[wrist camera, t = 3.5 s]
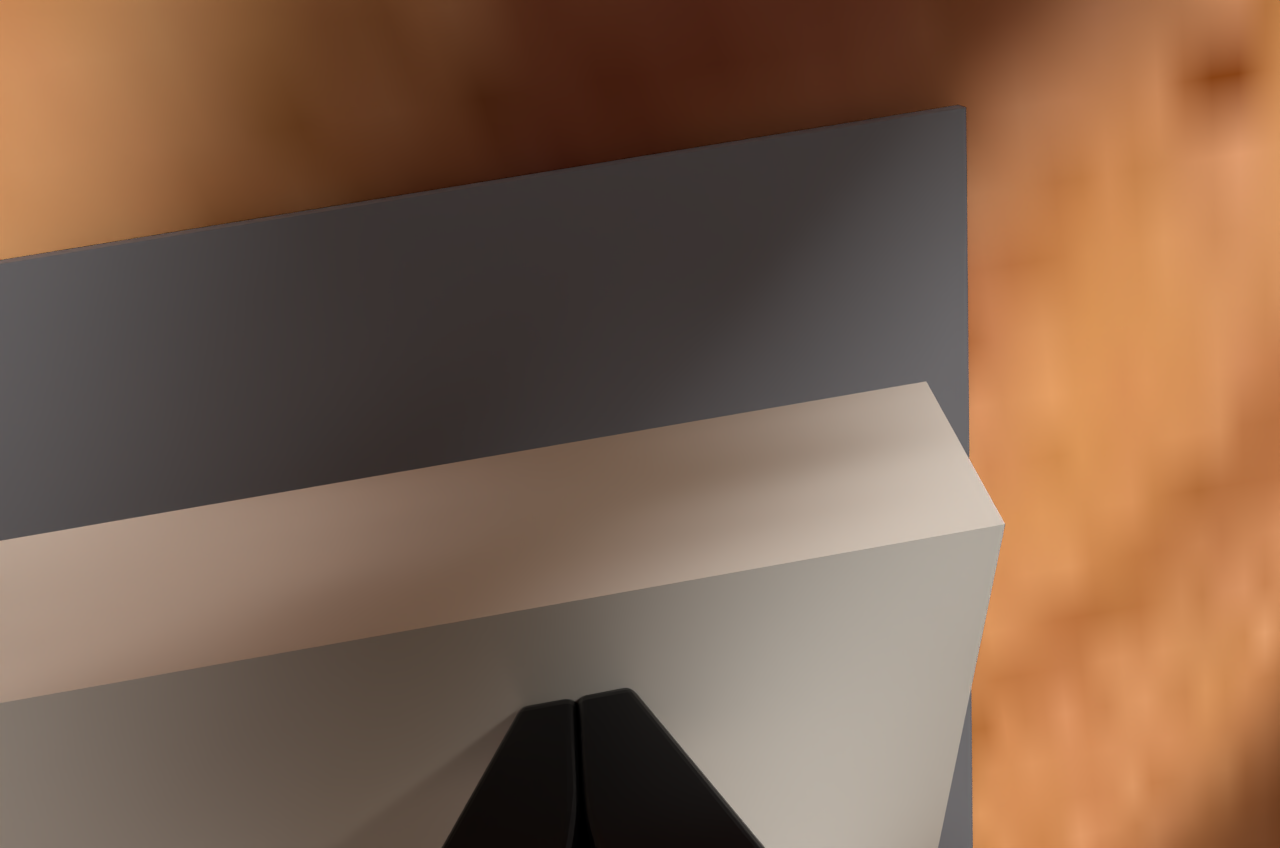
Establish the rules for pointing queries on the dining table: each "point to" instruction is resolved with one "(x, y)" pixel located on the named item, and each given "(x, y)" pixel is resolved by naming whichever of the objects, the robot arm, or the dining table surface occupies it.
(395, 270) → the underlay mat
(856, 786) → the plank
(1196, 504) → the dining table surface
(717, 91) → the dining table surface
